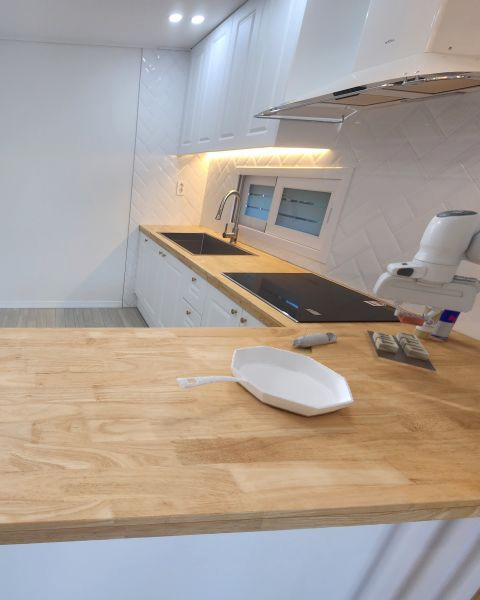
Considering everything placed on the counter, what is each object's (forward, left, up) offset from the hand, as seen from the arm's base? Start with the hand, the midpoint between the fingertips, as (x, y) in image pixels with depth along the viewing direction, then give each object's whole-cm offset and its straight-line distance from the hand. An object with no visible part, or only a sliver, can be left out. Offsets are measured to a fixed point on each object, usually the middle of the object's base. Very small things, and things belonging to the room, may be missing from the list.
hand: (410, 318), depth 96 cm
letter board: (-2, -8, -14) cm, 16 cm away
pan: (+34, +44, -14) cm, 57 cm away
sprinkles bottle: (-11, -25, -14) cm, 31 cm away
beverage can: (-16, -30, -14) cm, 37 cm away
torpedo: (+21, +5, -14) cm, 25 cm away
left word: (+1, -8, -13) cm, 15 cm away
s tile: (0, 0, -1) cm, 1 cm away
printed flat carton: (-6, -11, -13) cm, 18 cm away
